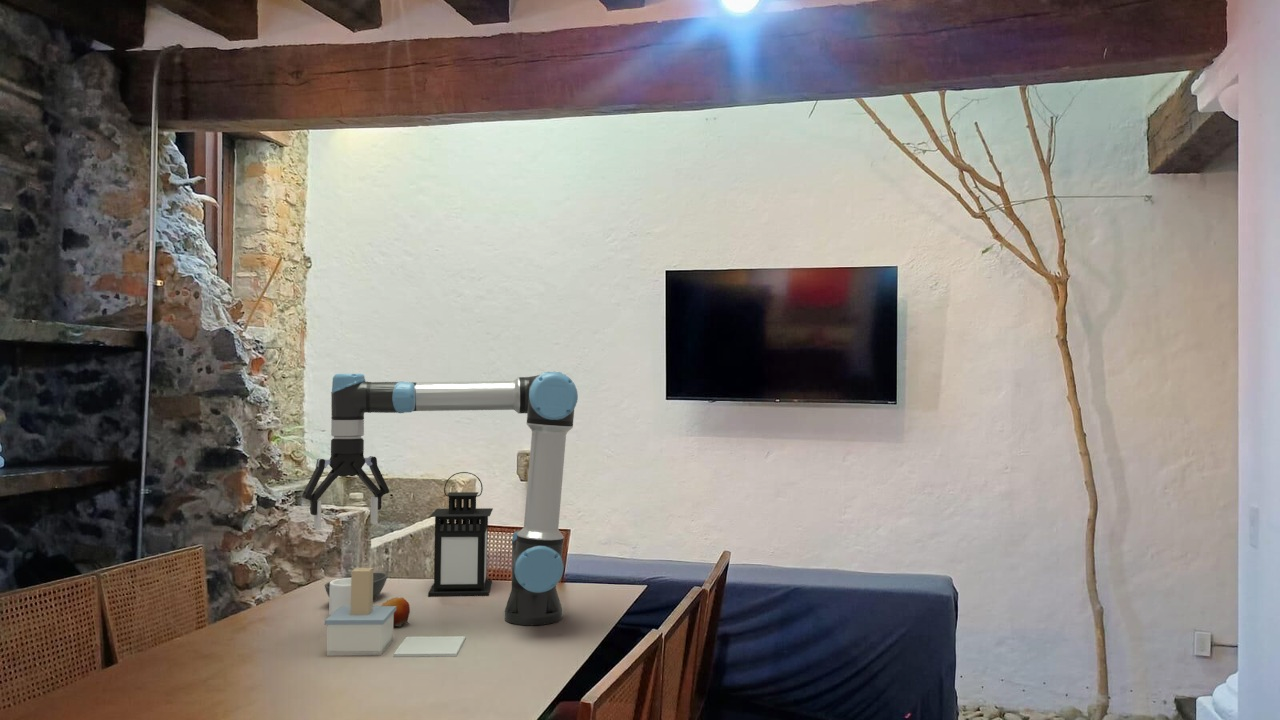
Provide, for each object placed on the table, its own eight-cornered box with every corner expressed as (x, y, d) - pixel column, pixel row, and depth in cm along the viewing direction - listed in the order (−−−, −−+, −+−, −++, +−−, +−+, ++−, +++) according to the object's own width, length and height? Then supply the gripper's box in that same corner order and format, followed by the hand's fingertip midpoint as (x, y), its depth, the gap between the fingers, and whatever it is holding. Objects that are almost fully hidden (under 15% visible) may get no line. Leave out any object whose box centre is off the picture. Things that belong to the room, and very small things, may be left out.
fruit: (407, 624, 219) (393, 596, 220) (382, 639, 220) (367, 611, 221) (422, 616, 226) (407, 589, 228) (397, 631, 228) (383, 603, 229)
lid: (396, 610, 211) (397, 564, 211) (383, 624, 198) (384, 575, 198) (341, 610, 210) (342, 564, 210) (324, 624, 197) (325, 575, 197)
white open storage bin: (393, 640, 210) (393, 610, 210) (380, 655, 198) (381, 623, 198) (342, 640, 209) (342, 610, 209) (326, 655, 197) (327, 624, 197)
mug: (381, 617, 232) (381, 582, 232) (344, 624, 224) (345, 588, 224) (357, 609, 240) (358, 575, 240) (322, 615, 232) (322, 581, 233)
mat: (465, 638, 212) (465, 636, 212) (456, 656, 198) (456, 653, 198) (406, 639, 211) (406, 636, 211) (393, 656, 197) (393, 653, 197)
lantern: (428, 596, 255) (430, 475, 256) (435, 584, 272) (437, 470, 273) (488, 596, 256) (490, 475, 258) (491, 583, 274) (493, 470, 275)
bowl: (398, 595, 256) (398, 574, 256) (348, 613, 235) (348, 590, 236) (363, 592, 260) (364, 571, 260) (311, 609, 240) (312, 586, 240)
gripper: (391, 435, 222) (390, 519, 222) (289, 438, 207) (287, 529, 206) (403, 436, 216) (402, 523, 216) (298, 439, 201) (297, 533, 200)
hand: (346, 526), depth 211 cm, fingers open, 13 cm apart
